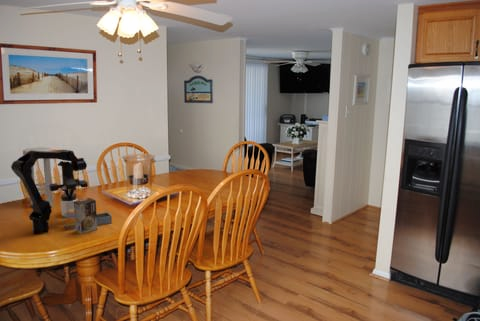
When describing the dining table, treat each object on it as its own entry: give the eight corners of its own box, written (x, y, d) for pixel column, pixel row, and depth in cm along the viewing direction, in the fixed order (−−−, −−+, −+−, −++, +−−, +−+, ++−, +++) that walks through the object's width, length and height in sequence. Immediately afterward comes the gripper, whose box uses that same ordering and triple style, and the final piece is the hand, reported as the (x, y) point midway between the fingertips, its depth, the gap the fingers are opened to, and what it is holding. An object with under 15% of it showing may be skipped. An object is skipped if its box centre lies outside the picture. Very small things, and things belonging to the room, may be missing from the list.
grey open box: (97, 225, 207) (96, 217, 206) (93, 221, 213) (93, 213, 213) (111, 223, 212) (111, 215, 211) (107, 219, 218) (107, 211, 217)
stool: (57, 205, 239) (53, 150, 232) (29, 209, 230) (24, 152, 223) (53, 199, 251) (49, 146, 244) (26, 203, 242) (21, 148, 236)
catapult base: (66, 230, 199) (65, 220, 198) (64, 226, 204) (63, 216, 203) (96, 225, 208) (95, 215, 207) (93, 221, 213) (93, 212, 212)
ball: (67, 216, 200) (67, 210, 199) (66, 215, 203) (66, 208, 202) (74, 215, 202) (74, 209, 201) (73, 213, 205) (73, 207, 204)
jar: (66, 212, 227) (64, 192, 225) (80, 212, 228) (78, 192, 225) (59, 217, 219) (58, 197, 216) (74, 217, 219) (72, 197, 217)
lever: (66, 218, 199) (66, 215, 199) (62, 211, 209) (61, 208, 209) (94, 214, 207) (94, 210, 207) (88, 207, 217) (88, 204, 217)
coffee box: (91, 226, 206) (89, 197, 203) (97, 229, 202) (96, 200, 199) (74, 231, 199) (73, 201, 196) (81, 234, 195) (79, 203, 192)
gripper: (51, 178, 195) (53, 207, 198) (89, 174, 206) (90, 201, 209) (47, 173, 204) (49, 201, 207) (84, 170, 215) (86, 196, 218)
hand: (69, 200), depth 210 cm, fingers closed
